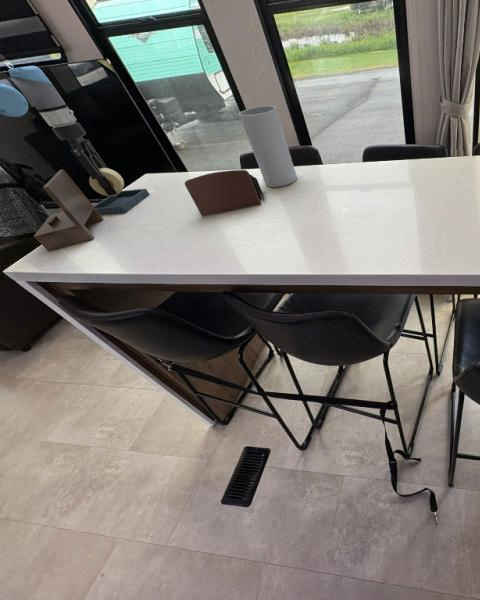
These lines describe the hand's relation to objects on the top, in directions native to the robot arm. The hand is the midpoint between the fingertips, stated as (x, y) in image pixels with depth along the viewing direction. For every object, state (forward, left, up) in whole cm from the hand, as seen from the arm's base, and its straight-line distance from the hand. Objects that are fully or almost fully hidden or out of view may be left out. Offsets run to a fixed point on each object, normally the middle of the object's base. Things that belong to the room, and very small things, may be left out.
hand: (114, 191), depth 121 cm
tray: (0, 0, -5) cm, 5 cm away
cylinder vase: (+59, -18, -5) cm, 62 cm away
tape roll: (0, 0, +4) cm, 4 cm away
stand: (-9, -23, -5) cm, 25 cm away
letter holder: (+40, -32, -5) cm, 52 cm away
